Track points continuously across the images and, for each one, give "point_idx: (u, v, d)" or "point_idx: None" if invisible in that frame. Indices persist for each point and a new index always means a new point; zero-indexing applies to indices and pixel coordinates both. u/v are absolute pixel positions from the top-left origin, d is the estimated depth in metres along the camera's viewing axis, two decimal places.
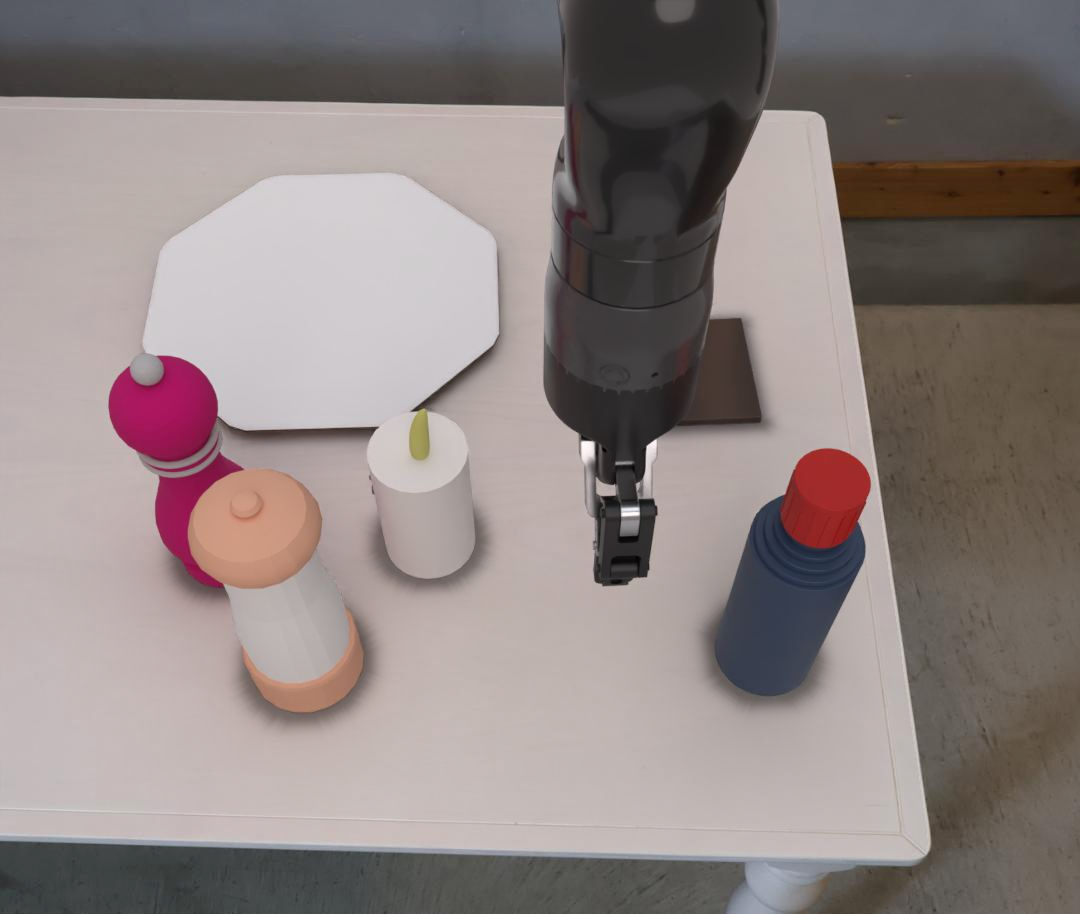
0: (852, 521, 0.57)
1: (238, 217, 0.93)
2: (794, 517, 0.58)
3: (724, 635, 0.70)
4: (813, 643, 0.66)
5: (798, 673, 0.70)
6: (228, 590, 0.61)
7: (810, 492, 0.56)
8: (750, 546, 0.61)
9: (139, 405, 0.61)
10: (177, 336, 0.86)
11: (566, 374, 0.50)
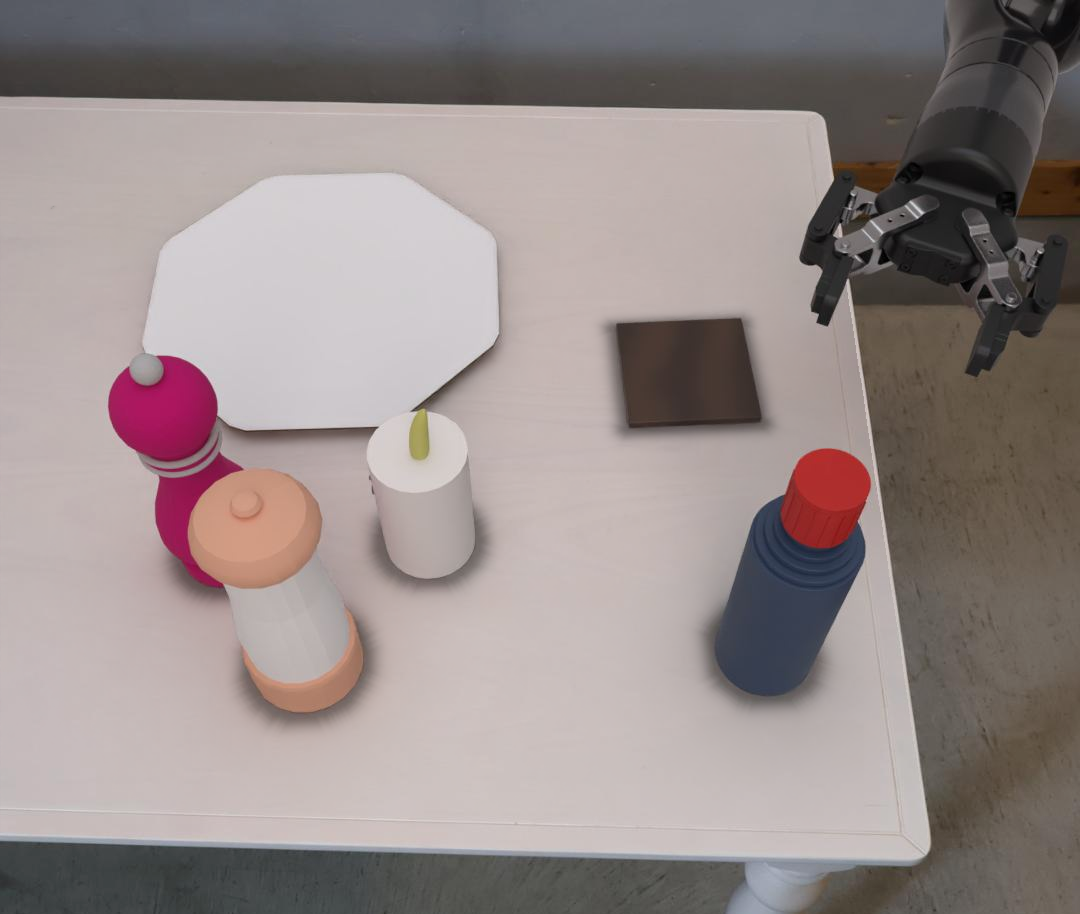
0: (852, 521, 0.57)
1: (238, 217, 0.93)
2: (794, 517, 0.58)
3: (724, 635, 0.70)
4: (813, 643, 0.66)
5: (798, 673, 0.70)
6: (228, 590, 0.61)
7: (810, 492, 0.56)
8: (750, 546, 0.61)
9: (138, 405, 0.61)
10: (177, 336, 0.86)
11: None
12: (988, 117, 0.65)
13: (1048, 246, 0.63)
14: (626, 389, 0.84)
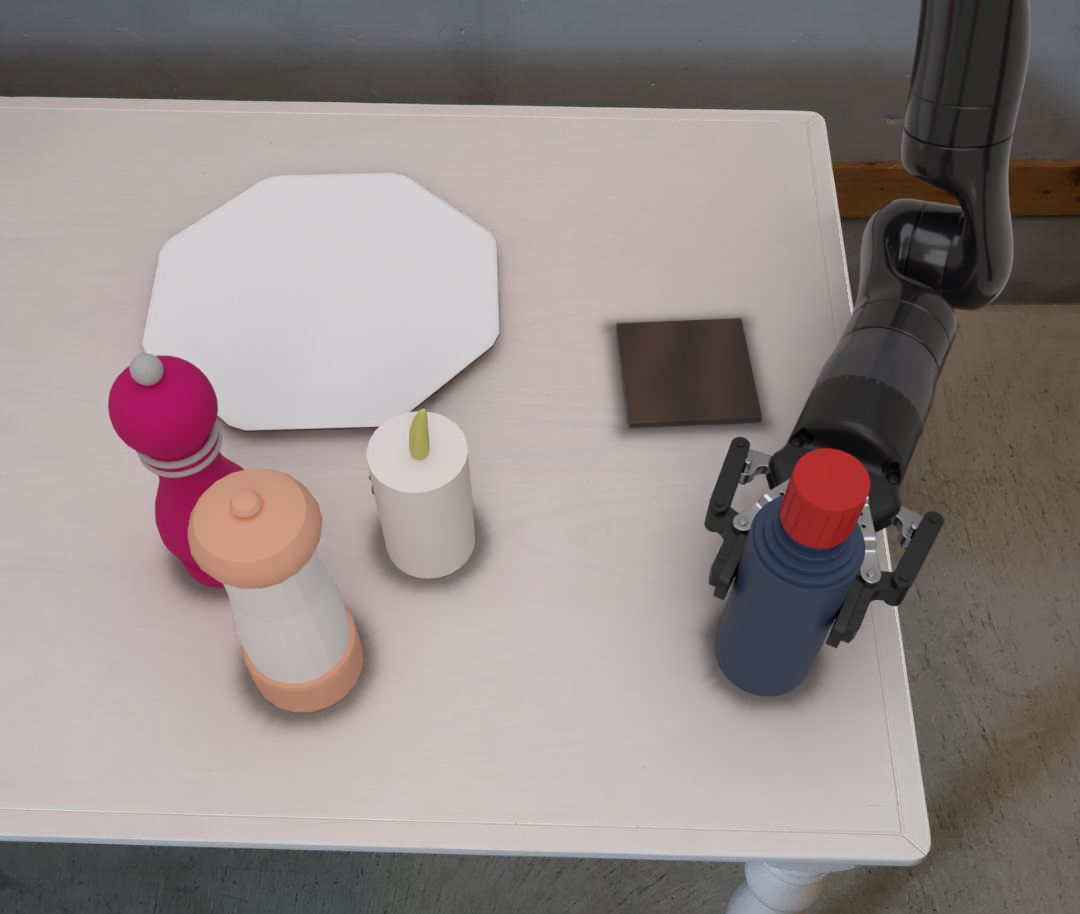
0: (851, 521, 0.57)
1: (238, 217, 0.93)
2: (793, 517, 0.58)
3: (724, 635, 0.70)
4: (813, 643, 0.66)
5: (798, 673, 0.70)
6: (228, 590, 0.61)
7: (809, 492, 0.56)
8: (750, 546, 0.61)
9: (139, 405, 0.61)
10: (177, 336, 0.86)
11: None
12: (876, 389, 0.69)
13: (923, 522, 0.67)
14: (626, 389, 0.84)
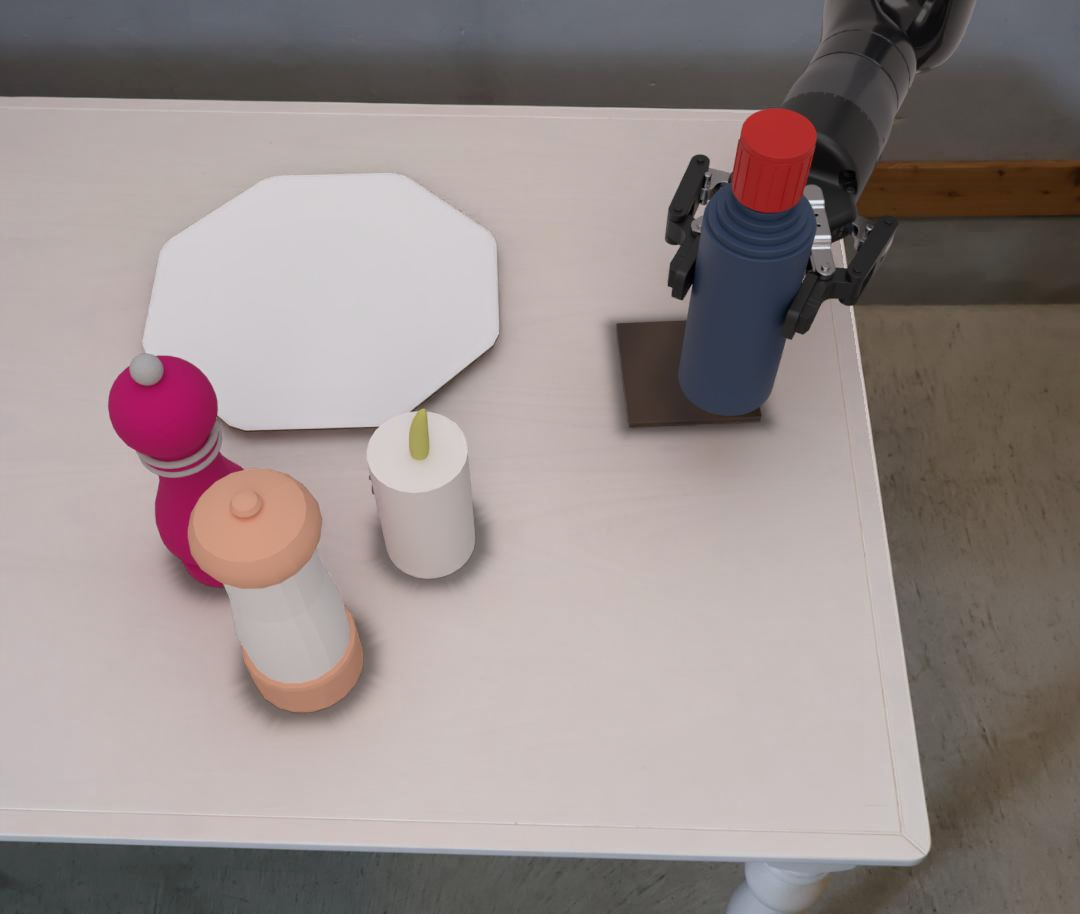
0: (799, 177, 0.58)
1: (238, 217, 0.93)
2: (743, 177, 0.59)
3: (685, 350, 0.71)
4: (769, 341, 0.67)
5: (757, 385, 0.71)
6: (228, 590, 0.61)
7: (757, 143, 0.57)
8: (703, 226, 0.63)
9: (138, 405, 0.61)
10: (177, 336, 0.86)
11: None
12: (833, 101, 0.70)
13: (878, 224, 0.68)
14: (626, 389, 0.84)
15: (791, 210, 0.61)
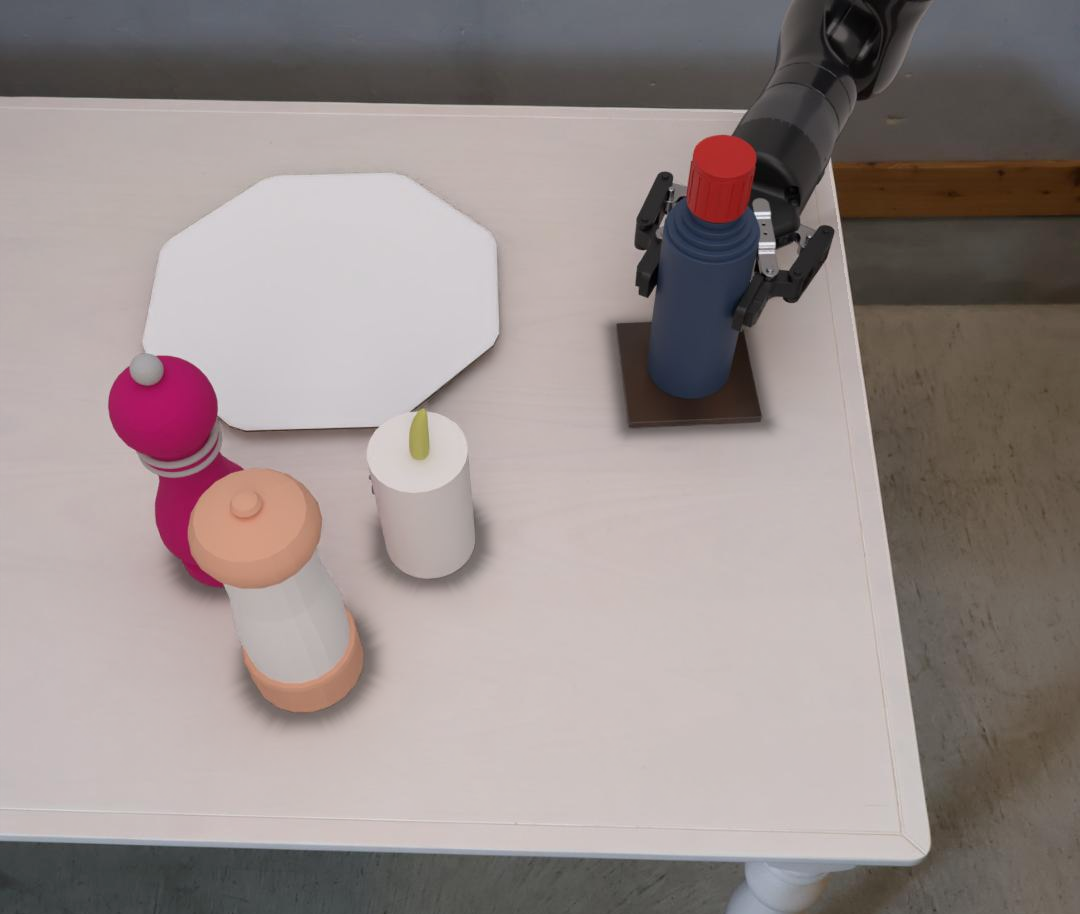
0: (742, 193, 0.69)
1: (238, 217, 0.93)
2: (695, 193, 0.70)
3: (651, 341, 0.82)
4: (722, 333, 0.78)
5: (714, 372, 0.82)
6: (228, 590, 0.61)
7: (705, 164, 0.68)
8: (664, 234, 0.73)
9: (139, 405, 0.61)
10: (177, 336, 0.86)
11: None
12: (780, 126, 0.81)
13: (817, 233, 0.79)
14: (626, 389, 0.84)
15: (737, 220, 0.72)
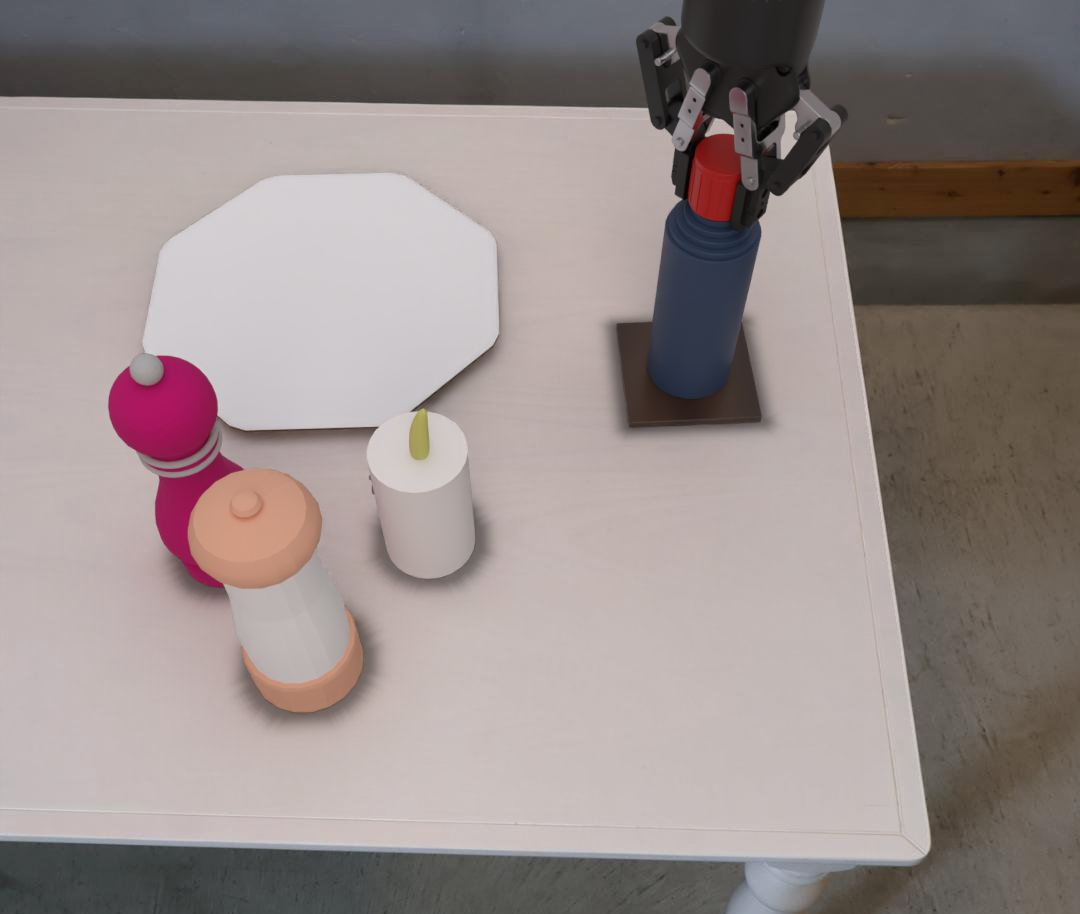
0: None
1: (238, 217, 0.93)
2: (697, 191, 0.70)
3: (652, 341, 0.82)
4: (723, 333, 0.78)
5: (714, 372, 0.82)
6: (228, 590, 0.61)
7: (707, 162, 0.68)
8: (665, 232, 0.74)
9: (139, 405, 0.61)
10: (177, 336, 0.86)
11: None
12: (717, 0, 0.57)
13: (804, 136, 0.62)
14: (626, 389, 0.84)
15: None
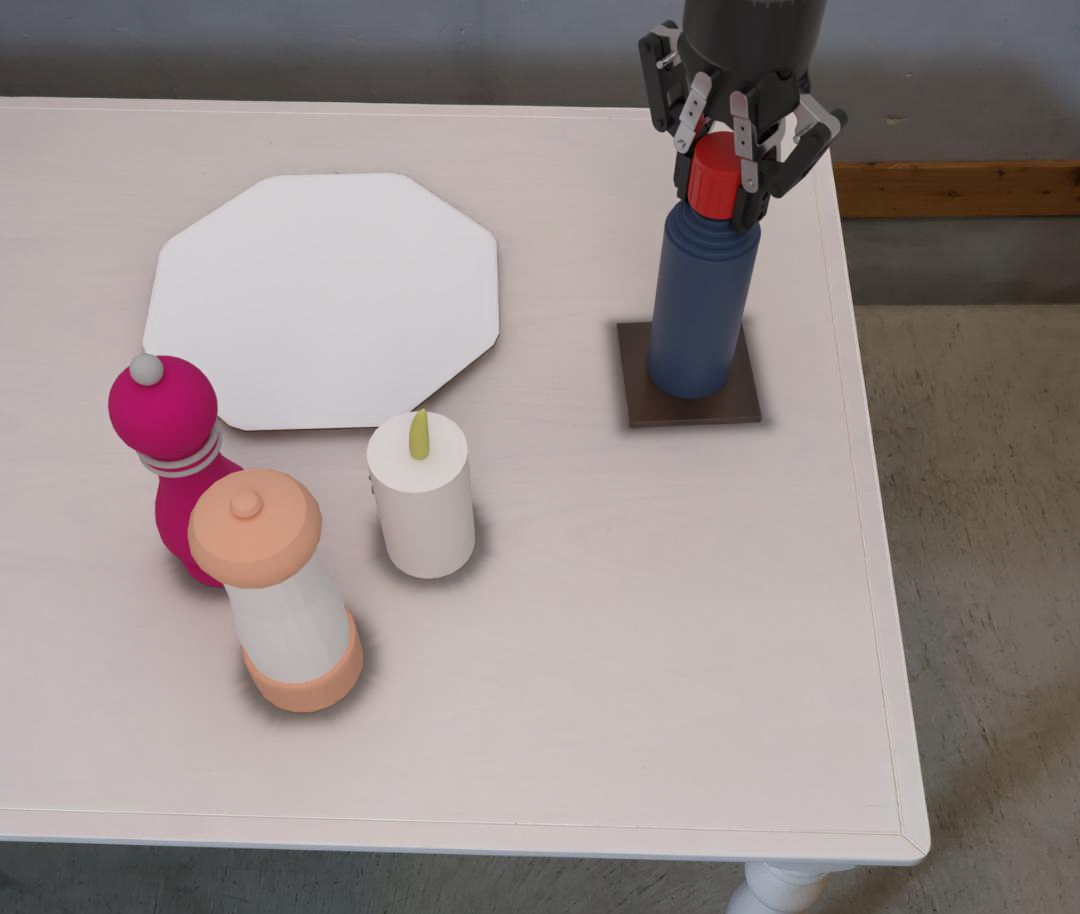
0: None
1: (238, 217, 0.93)
2: None
3: (652, 341, 0.82)
4: (723, 333, 0.78)
5: (714, 372, 0.82)
6: (228, 590, 0.61)
7: None
8: (664, 233, 0.74)
9: (138, 405, 0.61)
10: (177, 336, 0.86)
11: (766, 8, 0.56)
12: None
13: None
14: (626, 389, 0.84)
15: None
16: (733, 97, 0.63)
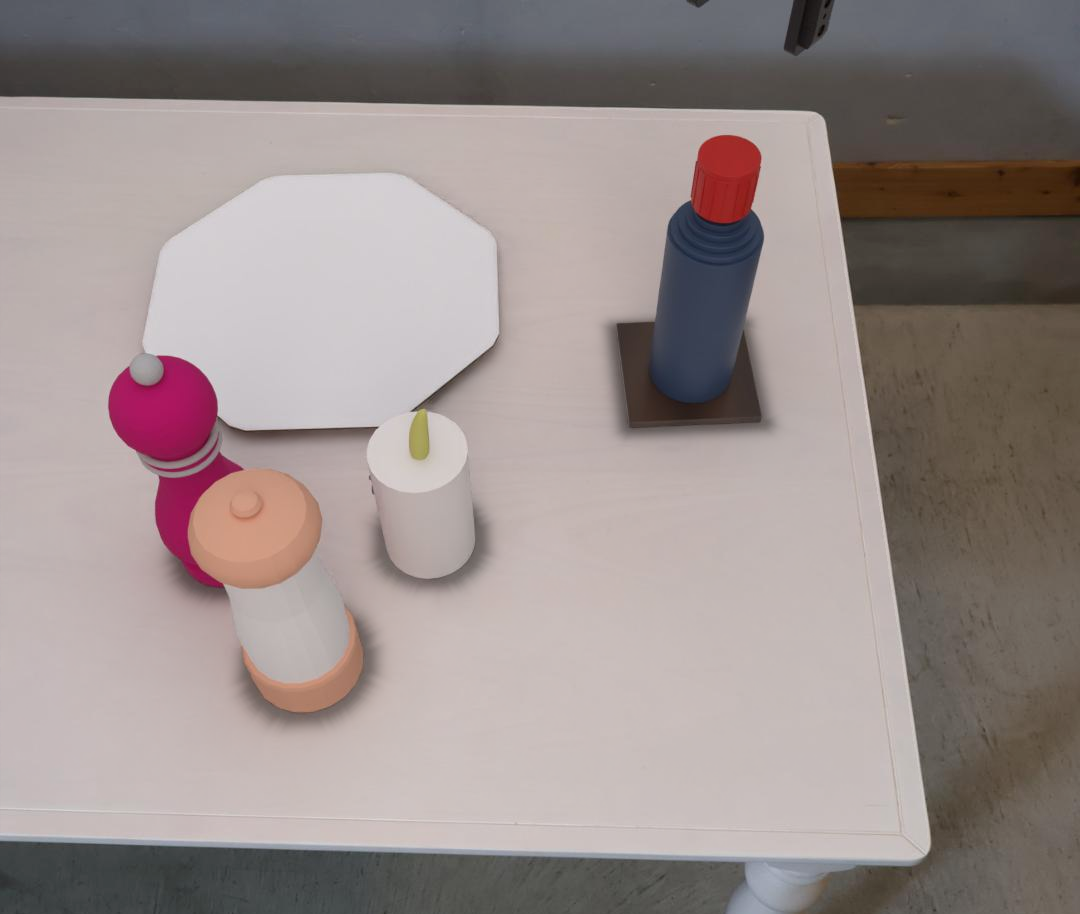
0: None
1: (238, 217, 0.93)
2: None
3: (654, 345, 0.82)
4: (725, 337, 0.78)
5: (716, 376, 0.81)
6: (228, 590, 0.61)
7: (748, 146, 0.69)
8: (667, 236, 0.73)
9: (139, 405, 0.61)
10: (177, 336, 0.86)
11: None
12: None
13: None
14: (626, 389, 0.84)
15: (741, 223, 0.72)
16: None
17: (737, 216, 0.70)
